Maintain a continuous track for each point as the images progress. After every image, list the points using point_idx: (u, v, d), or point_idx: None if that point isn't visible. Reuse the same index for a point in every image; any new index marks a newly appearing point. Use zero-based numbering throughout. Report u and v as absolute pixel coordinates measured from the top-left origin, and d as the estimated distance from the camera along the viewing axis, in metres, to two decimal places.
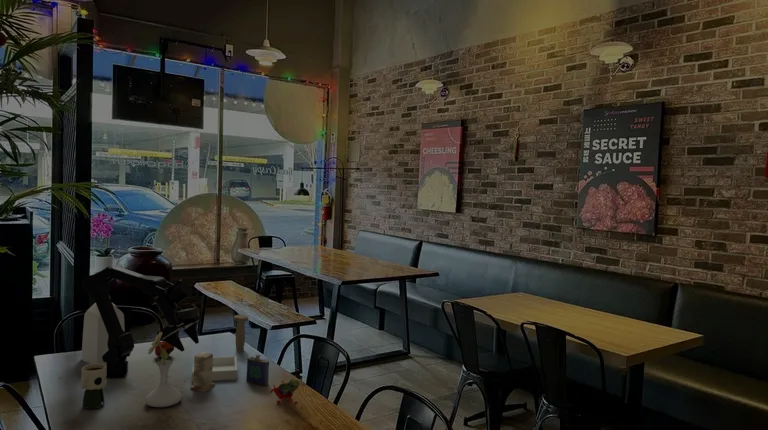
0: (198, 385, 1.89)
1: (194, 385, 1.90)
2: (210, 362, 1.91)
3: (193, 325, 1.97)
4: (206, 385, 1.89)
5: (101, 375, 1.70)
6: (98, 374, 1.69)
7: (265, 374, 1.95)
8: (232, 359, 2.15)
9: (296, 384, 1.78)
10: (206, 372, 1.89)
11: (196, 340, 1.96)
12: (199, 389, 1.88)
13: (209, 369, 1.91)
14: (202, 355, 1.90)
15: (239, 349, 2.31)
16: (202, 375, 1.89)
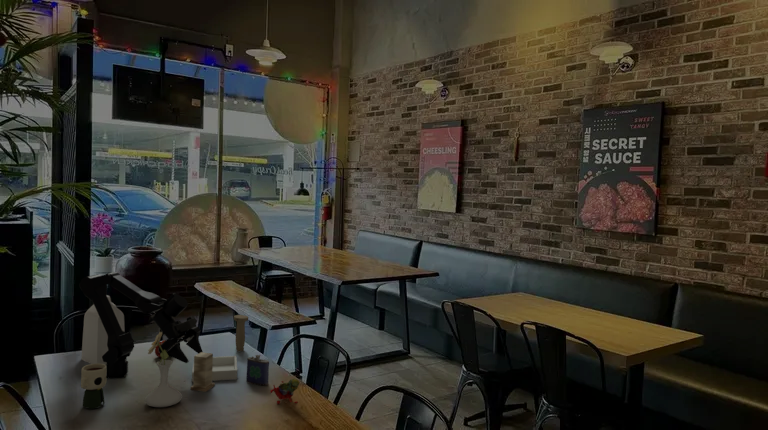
0: (198, 385, 1.89)
1: (194, 385, 1.90)
2: (210, 362, 1.91)
3: (194, 337, 1.97)
4: (206, 385, 1.89)
5: (101, 375, 1.70)
6: (98, 374, 1.69)
7: (265, 374, 1.96)
8: (232, 359, 2.15)
9: (296, 384, 1.79)
10: (206, 372, 1.89)
11: (200, 351, 1.96)
12: (199, 389, 1.88)
13: (209, 369, 1.91)
14: (202, 355, 1.90)
15: (239, 349, 2.31)
16: (202, 375, 1.89)
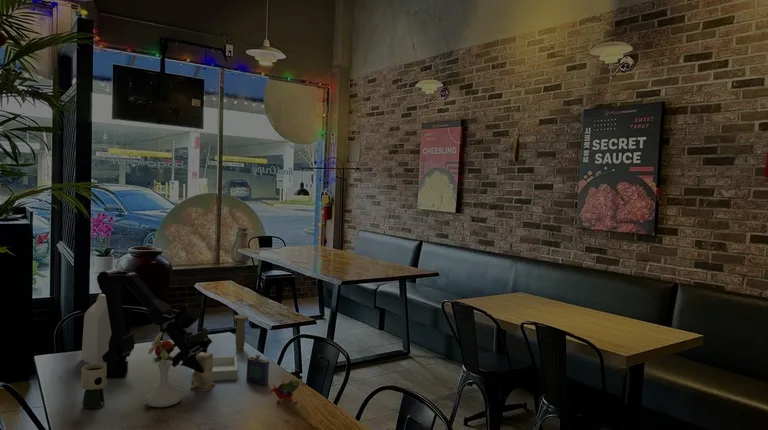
0: (198, 385, 1.89)
1: (194, 385, 1.89)
2: (210, 362, 1.91)
3: (203, 350, 1.94)
4: (206, 385, 1.89)
5: (101, 375, 1.70)
6: (98, 374, 1.69)
7: (265, 374, 1.95)
8: (232, 359, 2.15)
9: (296, 384, 1.78)
10: (206, 372, 1.89)
11: None
12: (199, 389, 1.88)
13: (209, 369, 1.91)
14: (202, 355, 1.90)
15: (239, 349, 2.31)
16: (202, 375, 1.89)
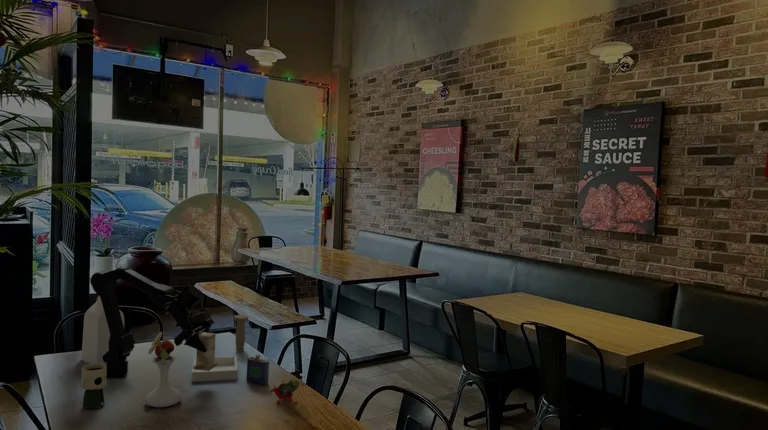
0: (201, 364, 1.90)
1: (197, 364, 1.91)
2: (213, 342, 1.92)
3: (205, 330, 1.95)
4: (209, 364, 1.91)
5: (101, 375, 1.70)
6: (98, 374, 1.69)
7: (265, 374, 1.96)
8: (232, 359, 2.15)
9: (296, 384, 1.78)
10: (209, 352, 1.90)
11: None
12: (202, 368, 1.89)
13: (212, 349, 1.92)
14: (205, 335, 1.91)
15: (239, 349, 2.31)
16: (205, 354, 1.90)
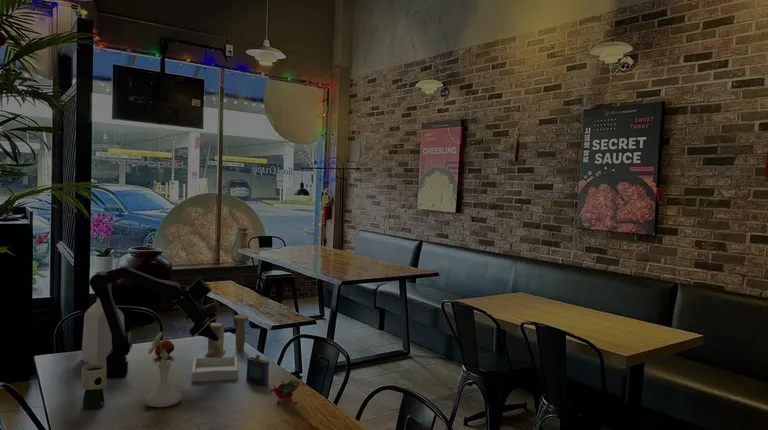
0: (213, 353, 2.03)
1: (208, 353, 2.03)
2: (222, 331, 2.06)
3: (213, 321, 2.07)
4: (220, 352, 2.04)
5: (101, 375, 1.70)
6: (98, 374, 1.69)
7: (265, 374, 1.96)
8: (232, 359, 2.15)
9: (296, 384, 1.78)
10: (220, 340, 2.03)
11: None
12: (214, 356, 2.02)
13: (222, 337, 2.05)
14: (215, 325, 2.04)
15: (239, 349, 2.31)
16: (216, 343, 2.03)
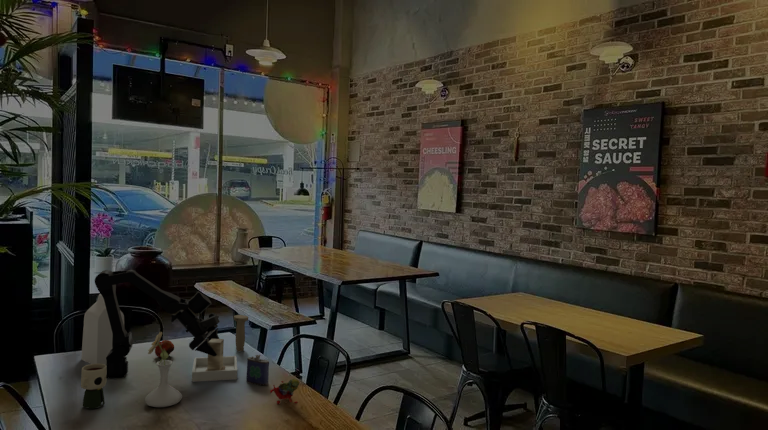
0: (212, 369, 2.04)
1: (208, 369, 2.03)
2: (222, 347, 2.06)
3: (214, 332, 2.10)
4: (220, 368, 2.04)
5: (101, 375, 1.70)
6: (98, 374, 1.69)
7: (265, 374, 1.96)
8: (232, 359, 2.15)
9: (296, 384, 1.78)
10: (220, 356, 2.04)
11: None
12: None
13: (221, 353, 2.06)
14: (215, 341, 2.04)
15: (239, 349, 2.31)
16: (216, 359, 2.03)
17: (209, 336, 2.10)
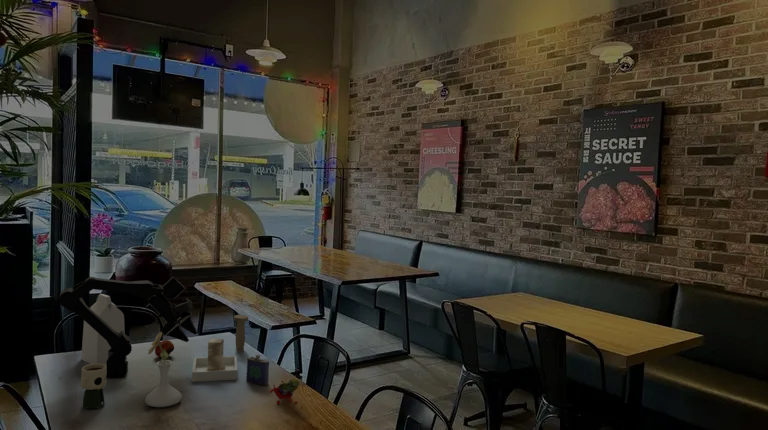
0: (212, 369, 2.04)
1: (208, 369, 2.03)
2: (222, 347, 2.06)
3: (188, 318, 2.09)
4: (220, 368, 2.04)
5: (101, 375, 1.70)
6: (98, 374, 1.69)
7: (265, 374, 1.96)
8: (232, 359, 2.15)
9: (296, 384, 1.79)
10: (220, 356, 2.04)
11: (194, 331, 2.09)
12: None
13: (221, 353, 2.06)
14: (215, 341, 2.04)
15: (239, 349, 2.31)
16: (216, 359, 2.03)
17: (183, 322, 2.10)
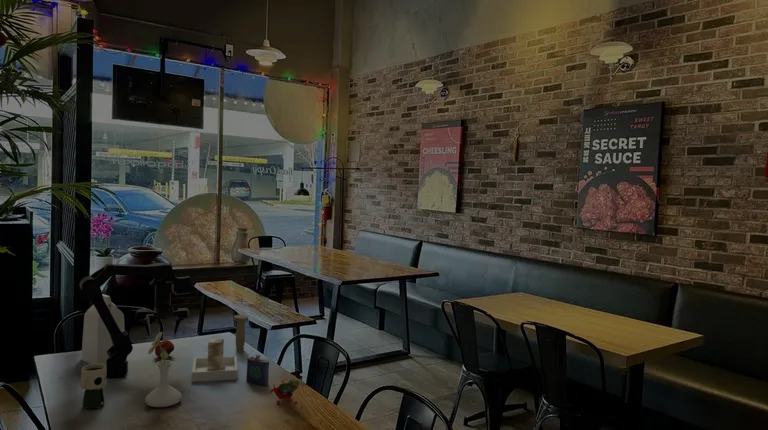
0: (212, 369, 2.04)
1: (208, 369, 2.03)
2: (222, 347, 2.06)
3: (176, 320, 2.06)
4: (220, 368, 2.04)
5: (101, 375, 1.70)
6: (98, 374, 1.69)
7: (265, 374, 1.95)
8: (232, 359, 2.15)
9: (296, 384, 1.79)
10: (220, 356, 2.04)
11: (174, 332, 2.08)
12: None
13: (221, 353, 2.06)
14: (215, 341, 2.04)
15: (239, 349, 2.31)
16: (216, 359, 2.03)
17: None
